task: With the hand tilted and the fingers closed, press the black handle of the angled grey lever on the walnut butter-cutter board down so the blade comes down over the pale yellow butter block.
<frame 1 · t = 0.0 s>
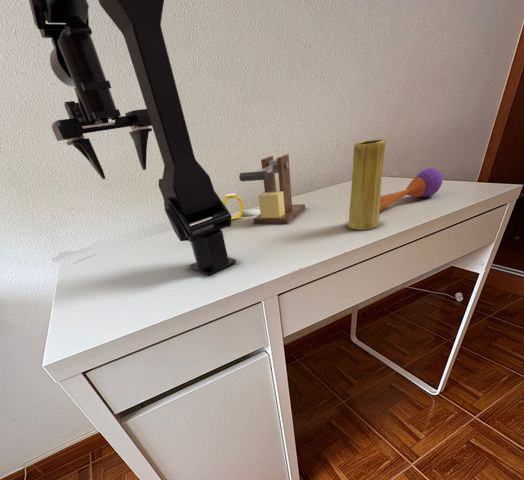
hand: (124, 174, 63), 15 cm above the table, tool pointing down, fingers open, 9 cm apart
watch: (234, 219, 78), on the table
angled grey lever: (265, 170, 64), point 11 cm above the table, hinge at 0.0°
maraca: (403, 204, 68), on the table
vase: (363, 226, 60), on the table
butter: (273, 216, 71), resting on cutter
cutter: (280, 216, 74), on the table
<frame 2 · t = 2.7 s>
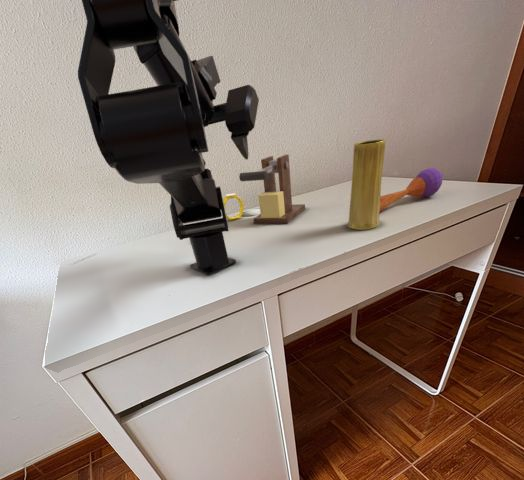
hand: (225, 161, 55), 15 cm above the table, tool tilted 40°, fingers open, 9 cm apart
nothing on the table moved.
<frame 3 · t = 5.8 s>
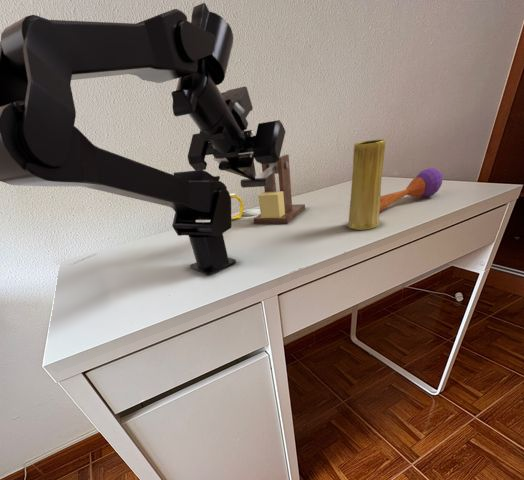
hand: (253, 177, 60), 11 cm above the table, tool tilted 45°, fingers closed, pressing on angled grey lever
angled grey lever: (266, 173, 64), point 10 cm above the table, hinge at -6.3°, touching gripper
everything else where it was.
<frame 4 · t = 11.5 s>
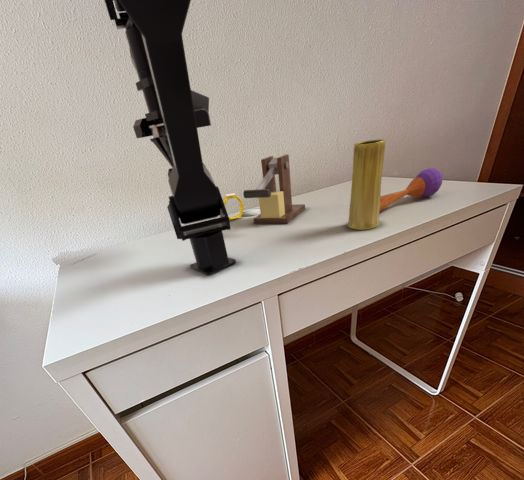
hand: (183, 178, 58), 13 cm above the table, tool pointing down, fingers closed
angled grey lever: (267, 178, 65), point 9 cm above the table, hinge at -17.9°
everything else where it was.
at the end: angled grey lever reached -18° during the clip, -18° at the end; angled grey lever at -18° (first picture: +0°) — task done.
